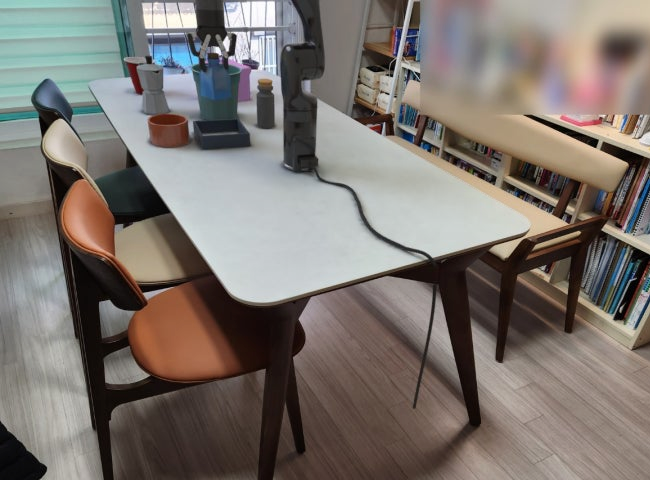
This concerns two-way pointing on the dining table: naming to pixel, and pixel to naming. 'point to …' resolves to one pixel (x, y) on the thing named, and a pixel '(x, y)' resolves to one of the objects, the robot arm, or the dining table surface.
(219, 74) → the perfume bottle
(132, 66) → the plastic cup
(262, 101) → the bottle
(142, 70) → the coffee maker
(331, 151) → the dining table surface
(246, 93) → the teapot
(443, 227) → the dining table surface
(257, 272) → the dining table surface
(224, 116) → the flower pot
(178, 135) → the round terracotta bowl
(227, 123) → the tray
